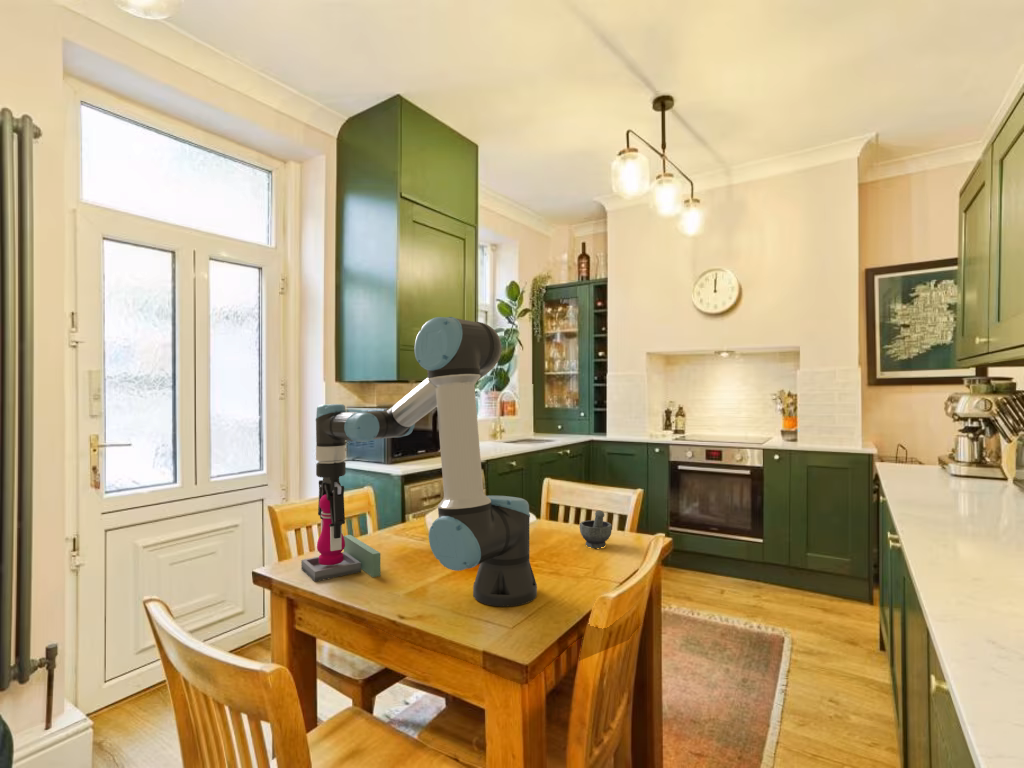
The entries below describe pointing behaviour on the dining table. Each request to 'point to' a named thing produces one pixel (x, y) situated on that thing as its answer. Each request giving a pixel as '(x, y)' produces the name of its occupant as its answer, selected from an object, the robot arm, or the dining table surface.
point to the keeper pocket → (330, 567)
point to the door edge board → (363, 555)
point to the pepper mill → (327, 537)
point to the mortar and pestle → (596, 531)
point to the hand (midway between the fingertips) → (331, 546)
